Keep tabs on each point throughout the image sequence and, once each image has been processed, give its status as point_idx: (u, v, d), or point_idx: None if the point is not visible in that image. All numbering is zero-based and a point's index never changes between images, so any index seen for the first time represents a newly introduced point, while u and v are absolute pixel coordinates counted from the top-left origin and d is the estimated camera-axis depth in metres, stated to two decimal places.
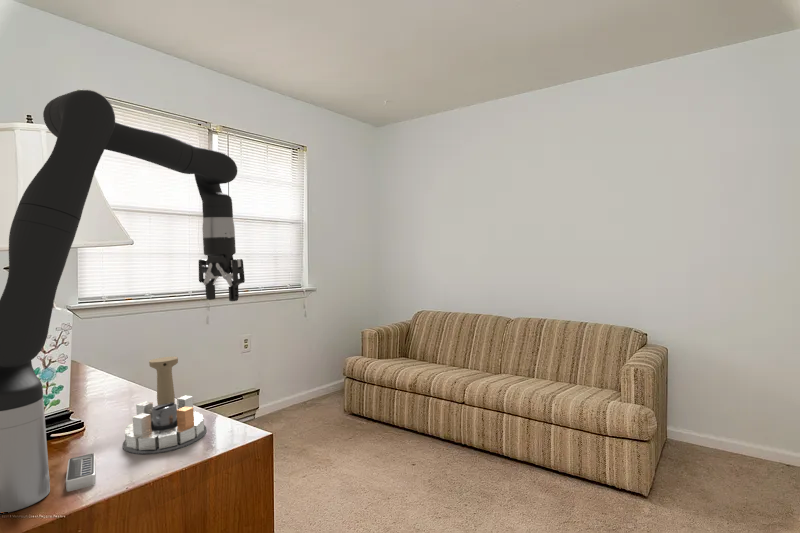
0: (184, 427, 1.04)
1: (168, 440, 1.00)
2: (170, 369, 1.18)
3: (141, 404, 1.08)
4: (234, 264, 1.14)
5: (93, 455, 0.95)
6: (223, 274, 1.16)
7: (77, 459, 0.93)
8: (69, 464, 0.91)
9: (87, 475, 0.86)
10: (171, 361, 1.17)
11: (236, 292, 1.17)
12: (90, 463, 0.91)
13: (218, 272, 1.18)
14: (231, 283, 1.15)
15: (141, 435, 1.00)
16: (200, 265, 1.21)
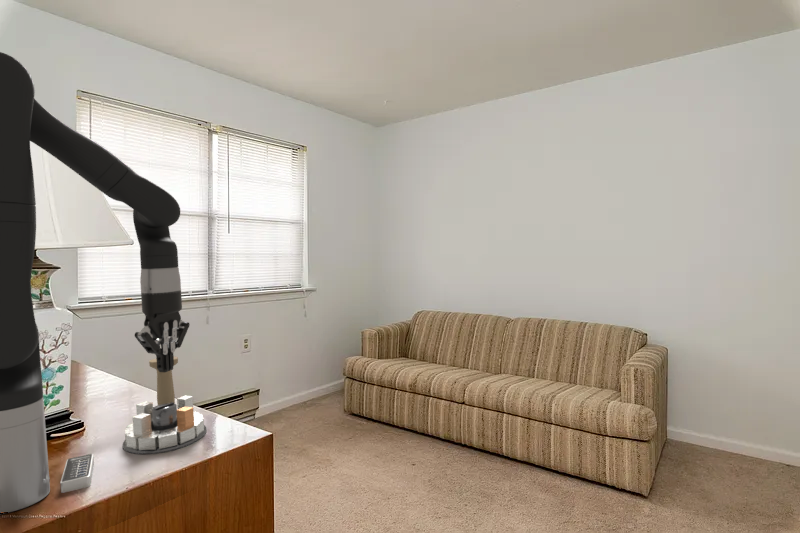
0: (184, 427, 1.04)
1: (168, 440, 1.00)
2: None
3: (141, 404, 1.08)
4: (186, 328, 1.04)
5: (91, 456, 0.94)
6: (174, 336, 1.00)
7: (75, 459, 0.93)
8: (66, 464, 0.91)
9: (82, 477, 0.86)
10: None
11: None
12: (87, 464, 0.91)
13: (169, 332, 1.00)
14: (174, 348, 1.01)
15: (141, 435, 1.00)
16: (149, 337, 0.94)
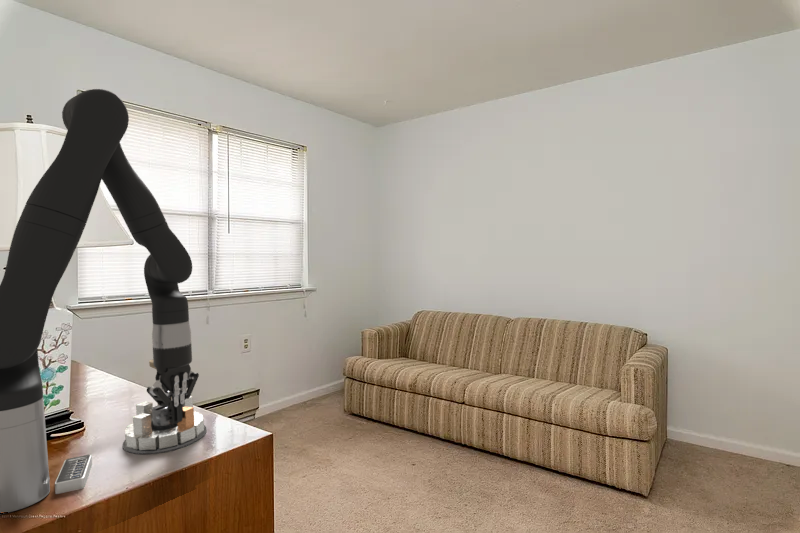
0: (184, 427, 1.04)
1: (168, 440, 1.00)
2: None
3: (141, 404, 1.08)
4: (196, 379, 1.07)
5: (89, 456, 0.94)
6: (184, 388, 1.03)
7: (73, 460, 0.93)
8: (64, 465, 0.91)
9: (76, 478, 0.85)
10: None
11: None
12: (83, 465, 0.90)
13: (179, 384, 1.02)
14: (183, 400, 1.03)
15: (141, 435, 1.00)
16: (160, 392, 0.97)
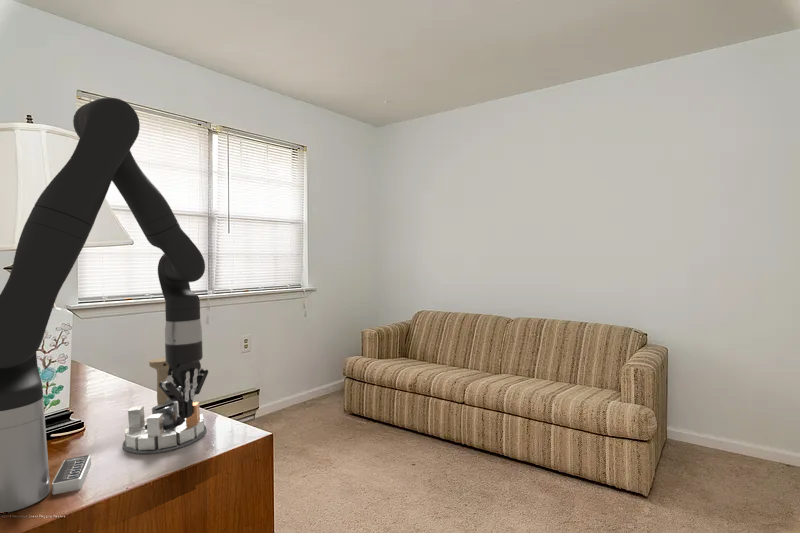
0: (195, 421, 1.07)
1: (187, 434, 1.03)
2: None
3: (133, 409, 1.05)
4: (205, 375, 1.10)
5: (88, 457, 0.94)
6: (194, 384, 1.06)
7: (71, 460, 0.93)
8: (62, 465, 0.91)
9: (73, 479, 0.85)
10: None
11: None
12: (81, 465, 0.90)
13: (190, 380, 1.05)
14: (193, 395, 1.06)
15: (158, 434, 1.00)
16: (172, 387, 1.00)
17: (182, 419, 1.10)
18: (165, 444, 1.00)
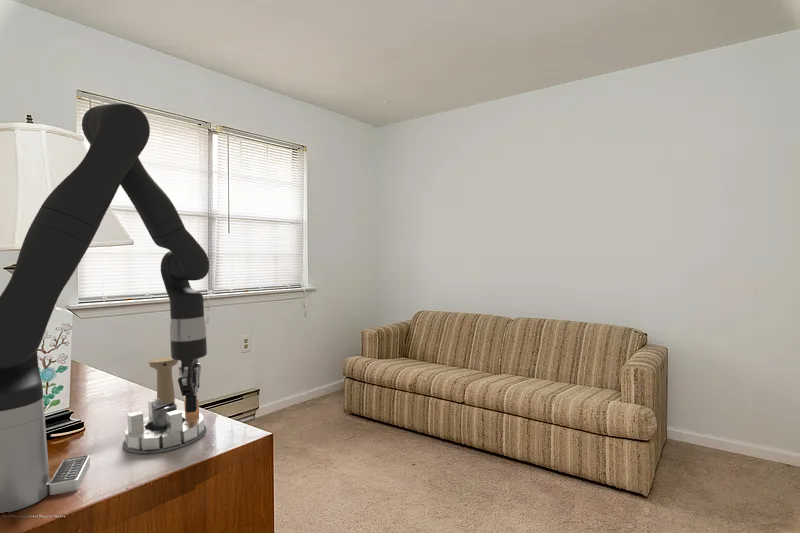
0: (197, 414, 1.11)
1: (201, 425, 1.08)
2: (170, 369, 1.18)
3: (134, 414, 1.02)
4: (200, 370, 1.14)
5: (86, 457, 0.94)
6: (199, 378, 1.10)
7: (70, 460, 0.92)
8: (61, 465, 0.90)
9: (70, 480, 0.85)
10: (171, 361, 1.17)
11: None
12: (79, 466, 0.90)
13: None
14: None
15: (181, 429, 1.03)
16: (191, 381, 1.04)
17: None
18: (189, 437, 1.03)
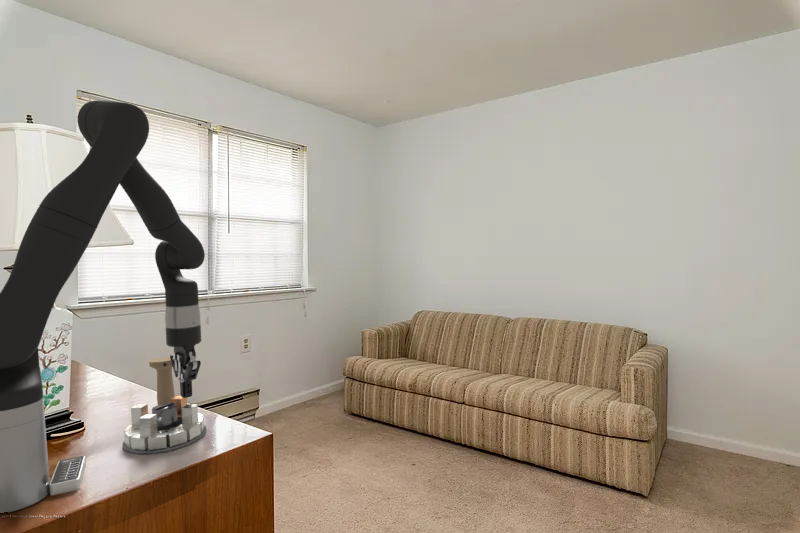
0: None
1: None
2: (170, 369, 1.18)
3: (149, 416, 1.01)
4: None
5: (83, 458, 0.94)
6: None
7: (66, 461, 0.92)
8: (57, 466, 0.90)
9: (71, 479, 0.85)
10: None
11: None
12: (77, 466, 0.90)
13: None
14: None
15: (197, 420, 1.07)
16: None
17: None
18: (202, 427, 1.09)
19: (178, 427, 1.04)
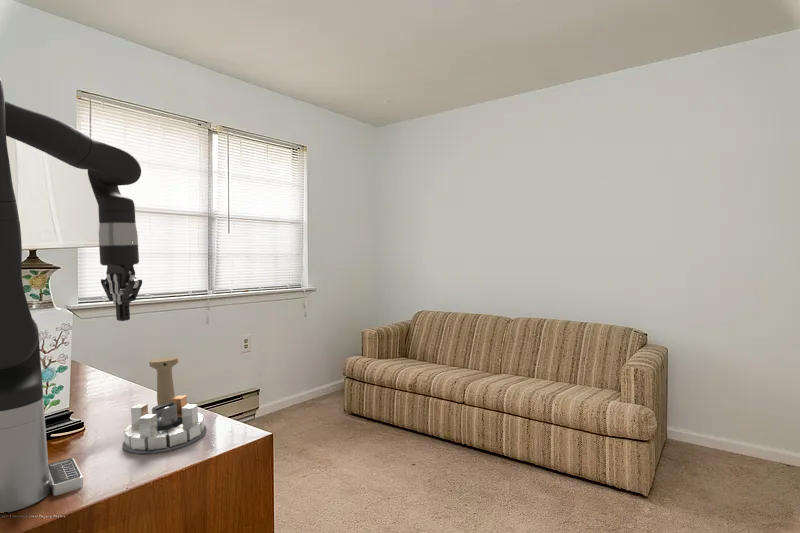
0: None
1: None
2: (170, 369, 1.18)
3: (149, 416, 1.01)
4: None
5: (72, 459, 0.93)
6: None
7: (56, 464, 0.91)
8: (49, 469, 0.89)
9: (75, 478, 0.85)
10: (171, 361, 1.17)
11: None
12: (73, 467, 0.90)
13: None
14: None
15: (197, 420, 1.07)
16: None
17: None
18: (202, 427, 1.09)
19: (178, 427, 1.04)
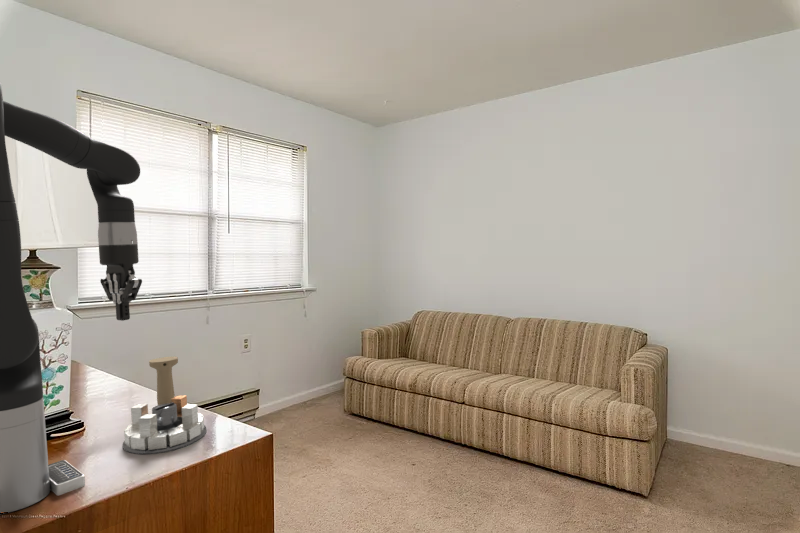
0: None
1: None
2: (170, 369, 1.18)
3: (149, 416, 1.01)
4: None
5: (65, 461, 0.92)
6: None
7: (49, 467, 0.90)
8: None
9: (77, 477, 0.86)
10: (171, 361, 1.17)
11: None
12: (69, 468, 0.90)
13: None
14: None
15: (197, 420, 1.07)
16: None
17: None
18: (202, 427, 1.09)
19: (178, 427, 1.04)
